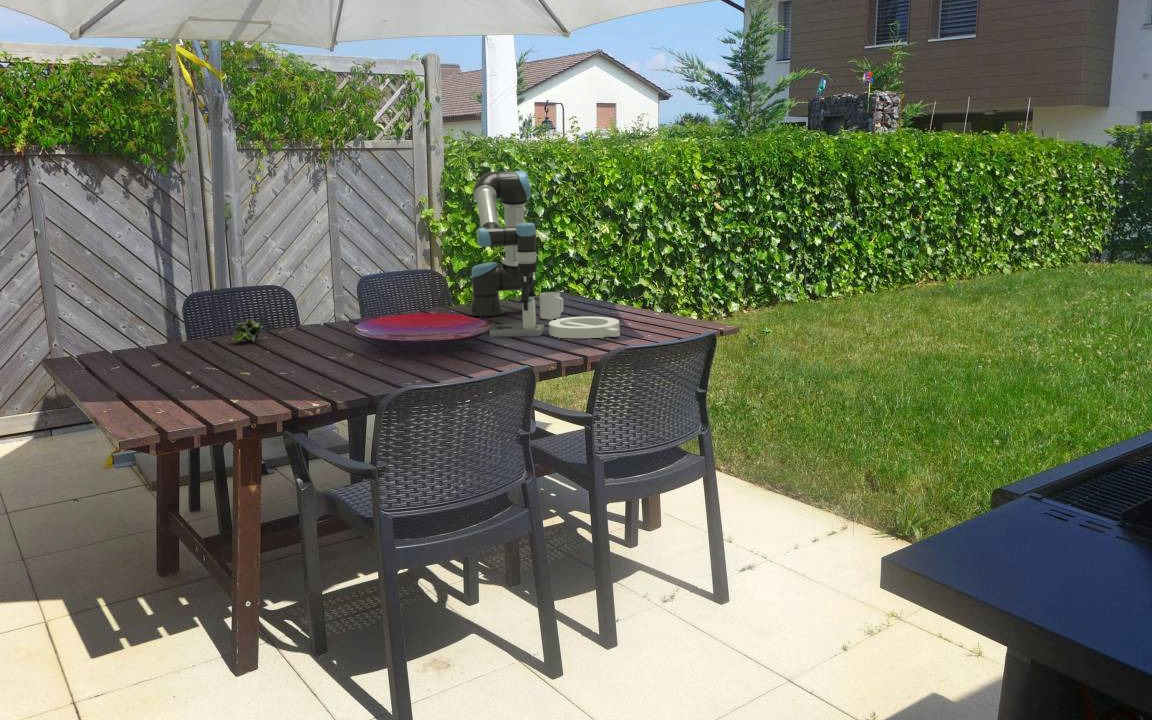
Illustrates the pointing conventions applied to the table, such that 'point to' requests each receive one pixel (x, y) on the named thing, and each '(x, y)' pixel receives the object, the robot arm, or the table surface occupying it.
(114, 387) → the table surface
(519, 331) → the panel
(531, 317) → the white tall block
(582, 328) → the white circle with bar
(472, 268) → the robot arm
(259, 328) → the green leafy plant
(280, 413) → the table surface
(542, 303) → the mug
